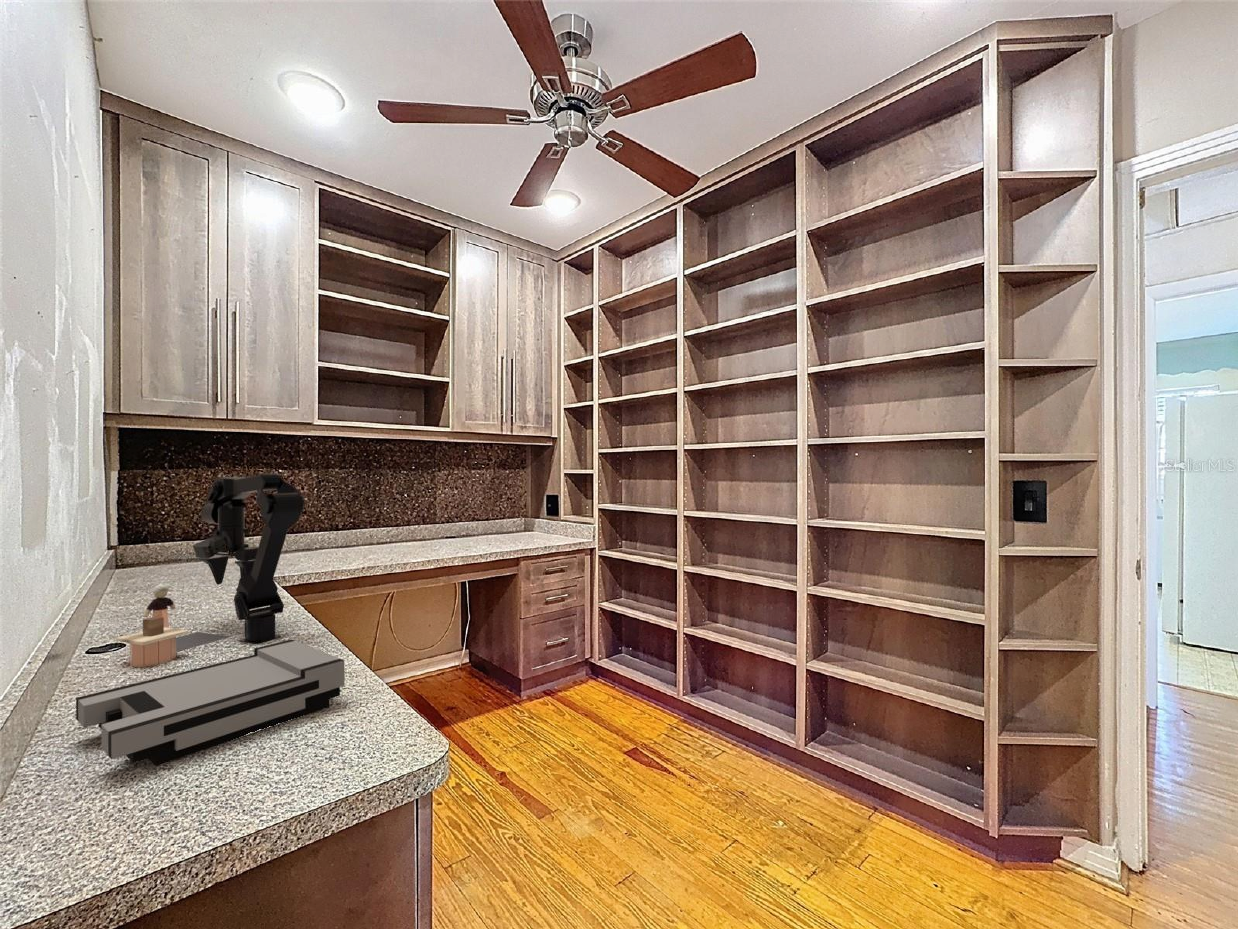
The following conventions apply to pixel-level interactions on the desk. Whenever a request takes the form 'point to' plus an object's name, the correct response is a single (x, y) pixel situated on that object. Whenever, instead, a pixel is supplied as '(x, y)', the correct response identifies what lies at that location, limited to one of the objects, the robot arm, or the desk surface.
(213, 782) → the desk surface
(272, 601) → the robot arm
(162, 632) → the lid
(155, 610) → the grandmother figurine
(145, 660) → the bowl
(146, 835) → the desk surface
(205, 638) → the mat
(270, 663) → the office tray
